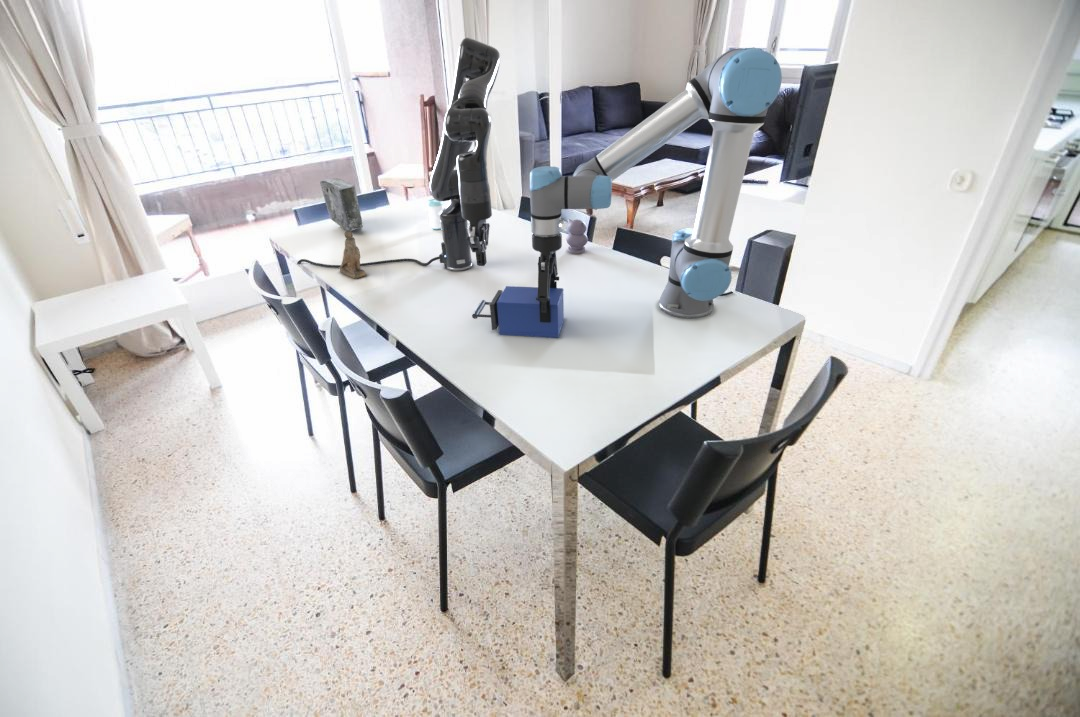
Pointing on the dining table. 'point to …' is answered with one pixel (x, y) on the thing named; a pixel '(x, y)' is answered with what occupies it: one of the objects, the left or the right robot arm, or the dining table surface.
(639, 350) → the dining table surface
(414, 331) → the dining table surface
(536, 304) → the cabinet
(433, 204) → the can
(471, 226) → the left robot arm
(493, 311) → the drawer
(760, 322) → the dining table surface
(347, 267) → the worn brown figurine
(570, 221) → the cat figurine
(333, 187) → the concrete block
